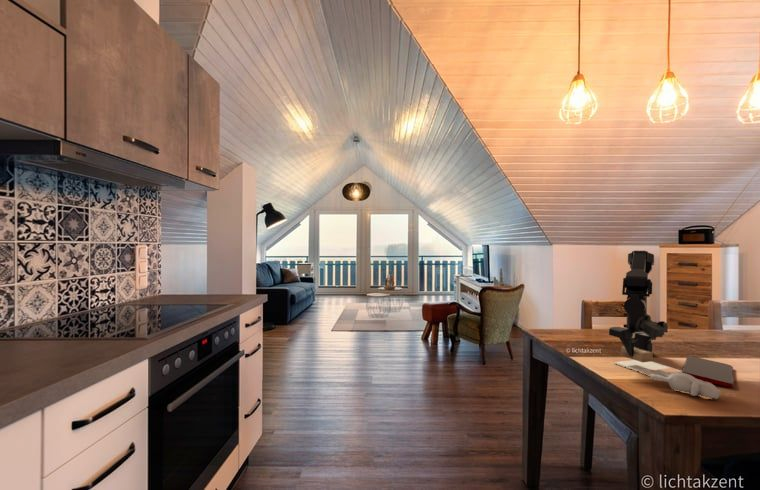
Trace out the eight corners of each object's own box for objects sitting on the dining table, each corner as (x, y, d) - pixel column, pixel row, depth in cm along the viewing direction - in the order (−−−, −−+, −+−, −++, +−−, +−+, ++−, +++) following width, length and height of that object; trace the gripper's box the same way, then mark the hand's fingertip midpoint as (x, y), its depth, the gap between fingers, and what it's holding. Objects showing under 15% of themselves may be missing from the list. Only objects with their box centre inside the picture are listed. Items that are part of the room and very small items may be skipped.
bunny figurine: (716, 391, 96) (649, 369, 108) (713, 409, 97) (647, 385, 109) (724, 382, 102) (660, 362, 114) (721, 399, 103) (657, 378, 114)
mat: (614, 364, 130) (614, 362, 130) (643, 360, 133) (643, 358, 133) (663, 381, 113) (663, 379, 113) (694, 376, 117) (694, 374, 117)
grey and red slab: (733, 364, 125) (734, 384, 107) (732, 369, 125) (733, 389, 107) (687, 354, 133) (680, 371, 115) (686, 358, 133) (680, 375, 115)
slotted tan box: (620, 355, 128) (620, 346, 128) (630, 354, 130) (630, 345, 130) (642, 362, 121) (642, 353, 121) (652, 361, 122) (652, 352, 122)
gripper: (638, 317, 115) (638, 366, 115) (681, 314, 120) (680, 360, 120) (607, 311, 125) (607, 355, 125) (647, 308, 131) (647, 351, 131)
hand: (636, 355), depth 125 cm, fingers closed on slotted tan box, 4 cm apart
